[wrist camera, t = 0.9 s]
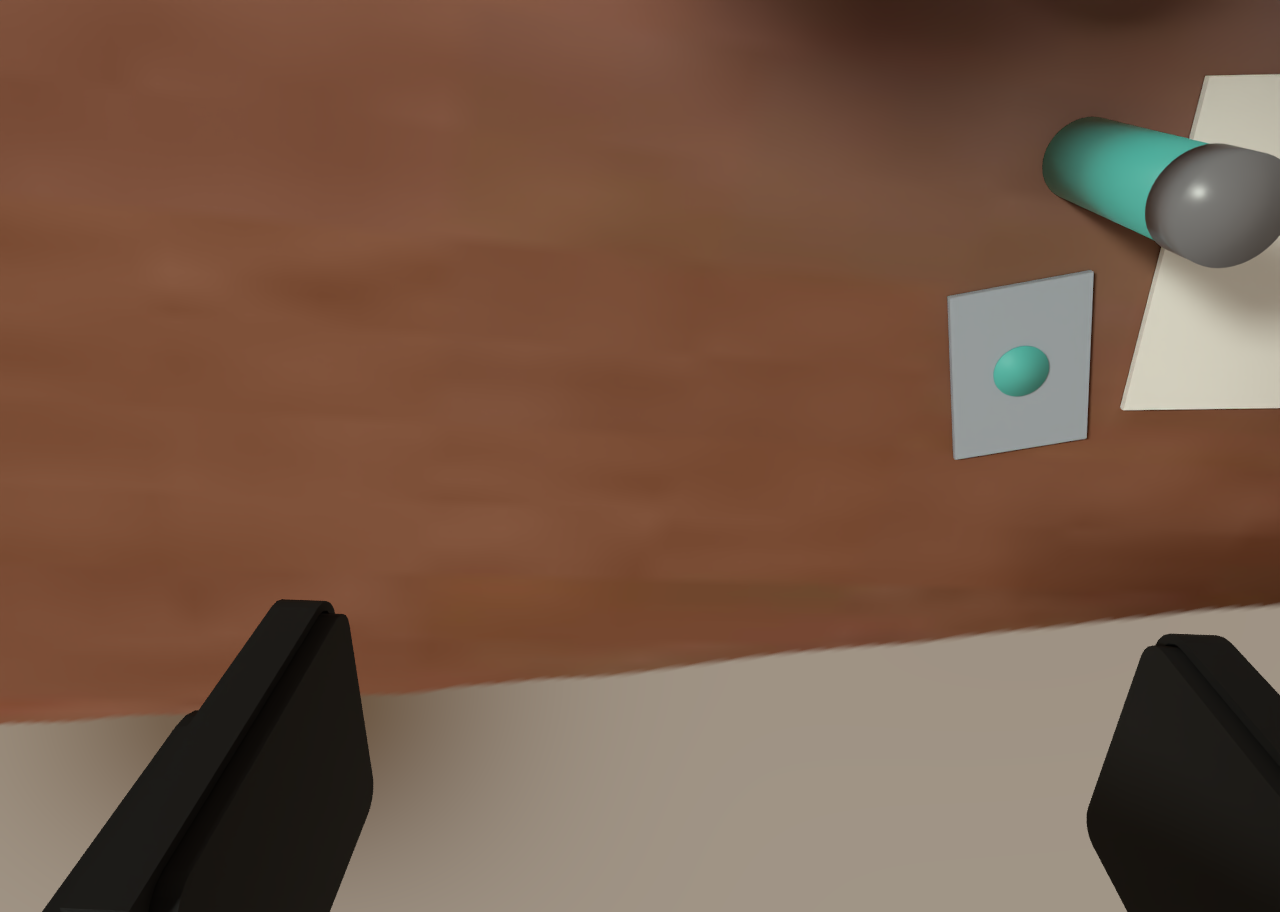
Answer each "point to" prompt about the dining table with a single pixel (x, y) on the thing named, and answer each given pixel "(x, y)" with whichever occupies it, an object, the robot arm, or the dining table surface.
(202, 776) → the robot arm
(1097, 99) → the dining table surface
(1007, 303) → the card
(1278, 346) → the paper
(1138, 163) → the marker
